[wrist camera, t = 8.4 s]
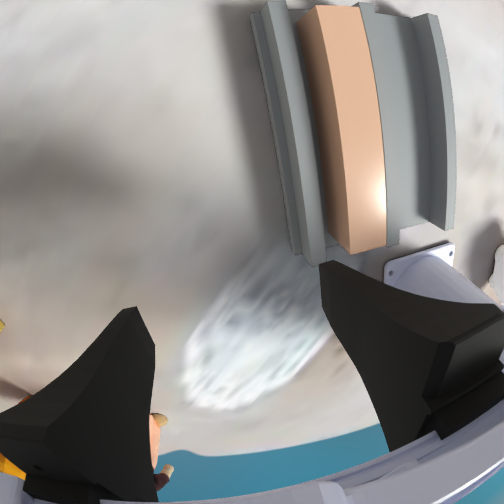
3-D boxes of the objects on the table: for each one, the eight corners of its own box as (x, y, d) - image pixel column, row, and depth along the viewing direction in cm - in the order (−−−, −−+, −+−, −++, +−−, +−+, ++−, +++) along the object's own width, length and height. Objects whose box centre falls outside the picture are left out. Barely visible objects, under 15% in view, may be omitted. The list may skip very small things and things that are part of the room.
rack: (435, 214, 22) (457, 227, 19) (291, 249, 21) (304, 269, 19) (417, 23, 15) (442, 16, 12) (249, 17, 14) (257, 1, 12)
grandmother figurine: (181, 414, 28) (185, 525, 16) (171, 431, 29) (173, 531, 18) (109, 394, 25) (91, 507, 14) (104, 412, 26) (89, 515, 15)
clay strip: (360, 225, 20) (386, 245, 17) (328, 232, 20) (350, 255, 17) (333, 22, 14) (359, 7, 11) (295, 22, 14) (315, 5, 11)
